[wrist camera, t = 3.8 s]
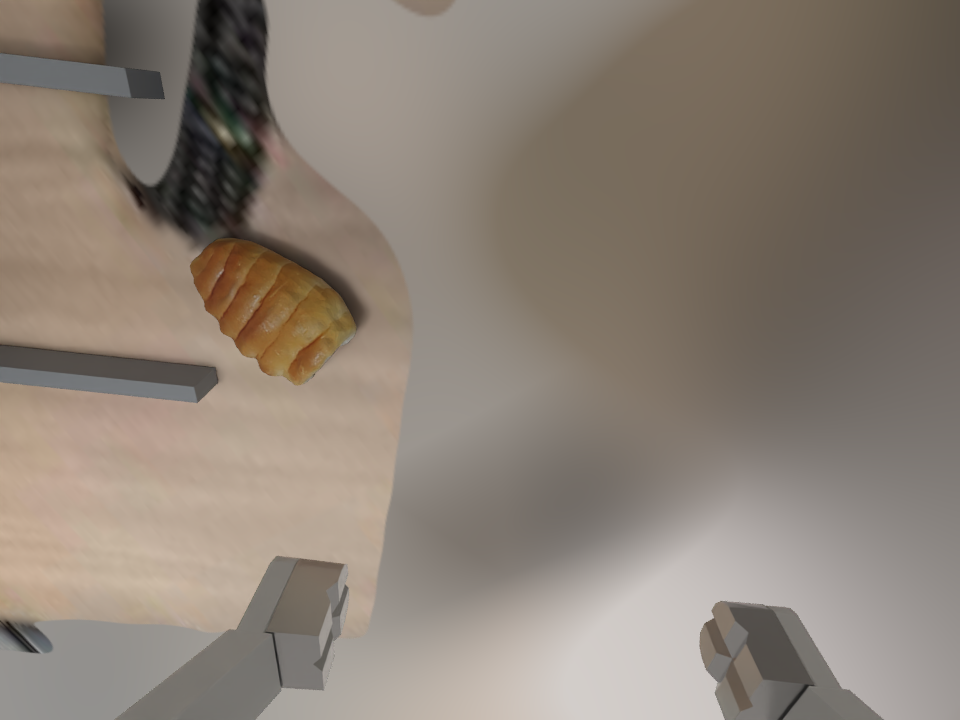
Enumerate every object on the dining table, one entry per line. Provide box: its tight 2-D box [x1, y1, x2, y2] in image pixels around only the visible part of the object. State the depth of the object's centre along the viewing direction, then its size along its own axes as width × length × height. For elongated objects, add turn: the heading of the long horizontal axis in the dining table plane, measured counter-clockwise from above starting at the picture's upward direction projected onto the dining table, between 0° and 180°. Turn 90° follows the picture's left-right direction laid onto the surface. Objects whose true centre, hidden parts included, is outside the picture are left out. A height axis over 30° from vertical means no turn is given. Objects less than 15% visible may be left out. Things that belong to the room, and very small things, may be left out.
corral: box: [0, 53, 218, 403], centre depth 27 cm, size 18×16×2 cm
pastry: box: [190, 238, 356, 385], centre depth 27 cm, size 9×7×4 cm
